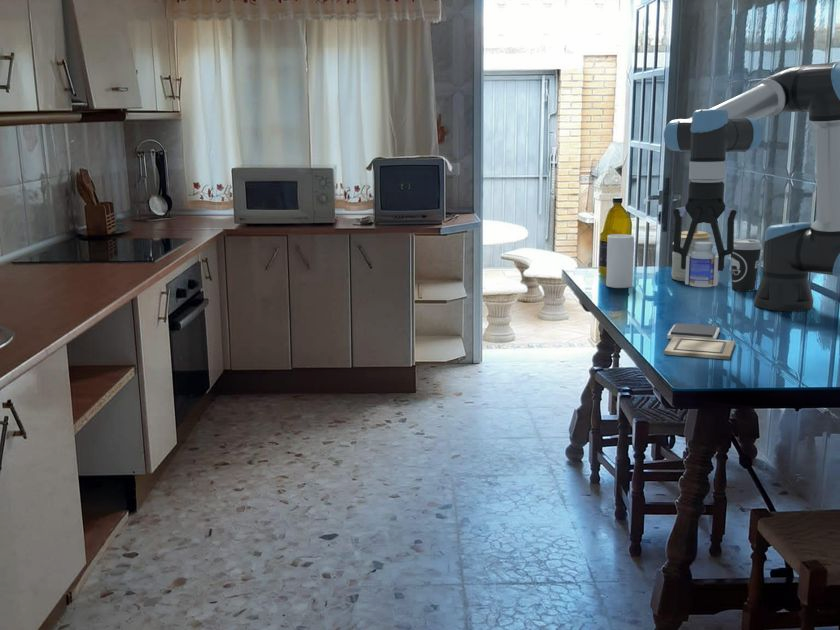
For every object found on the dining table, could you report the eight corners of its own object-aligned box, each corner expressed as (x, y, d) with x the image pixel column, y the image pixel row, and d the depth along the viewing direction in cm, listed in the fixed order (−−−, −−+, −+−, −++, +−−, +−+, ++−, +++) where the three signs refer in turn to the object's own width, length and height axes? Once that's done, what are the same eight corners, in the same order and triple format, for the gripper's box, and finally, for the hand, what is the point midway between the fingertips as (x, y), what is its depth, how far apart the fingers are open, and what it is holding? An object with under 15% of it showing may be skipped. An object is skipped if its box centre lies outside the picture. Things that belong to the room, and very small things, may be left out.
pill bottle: (715, 287, 192) (717, 244, 189) (689, 287, 193) (692, 244, 191) (712, 283, 197) (714, 241, 195) (687, 282, 198) (690, 240, 196)
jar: (717, 281, 276) (720, 227, 272) (677, 282, 277) (679, 228, 273) (705, 274, 289) (707, 222, 285) (666, 275, 289) (668, 223, 285)
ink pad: (719, 331, 213) (719, 325, 213) (714, 342, 203) (715, 335, 203) (673, 328, 217) (674, 322, 217) (667, 338, 208) (667, 332, 207)
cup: (636, 284, 276) (637, 234, 273) (627, 288, 269) (628, 238, 266) (611, 282, 280) (612, 233, 277) (602, 286, 274) (603, 236, 270)
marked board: (734, 344, 201) (735, 340, 201) (729, 359, 189) (729, 355, 188) (673, 339, 207) (673, 335, 206) (664, 354, 194) (664, 350, 194)
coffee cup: (756, 293, 257) (759, 243, 254) (723, 290, 262) (725, 242, 259) (762, 287, 265) (765, 239, 262) (730, 285, 270) (733, 238, 267)
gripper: (752, 179, 189) (746, 283, 194) (666, 179, 197) (662, 279, 202) (749, 182, 183) (743, 289, 188) (661, 181, 190) (657, 284, 195)
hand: (701, 283), depth 195 cm, fingers closed on pill bottle, 5 cm apart
